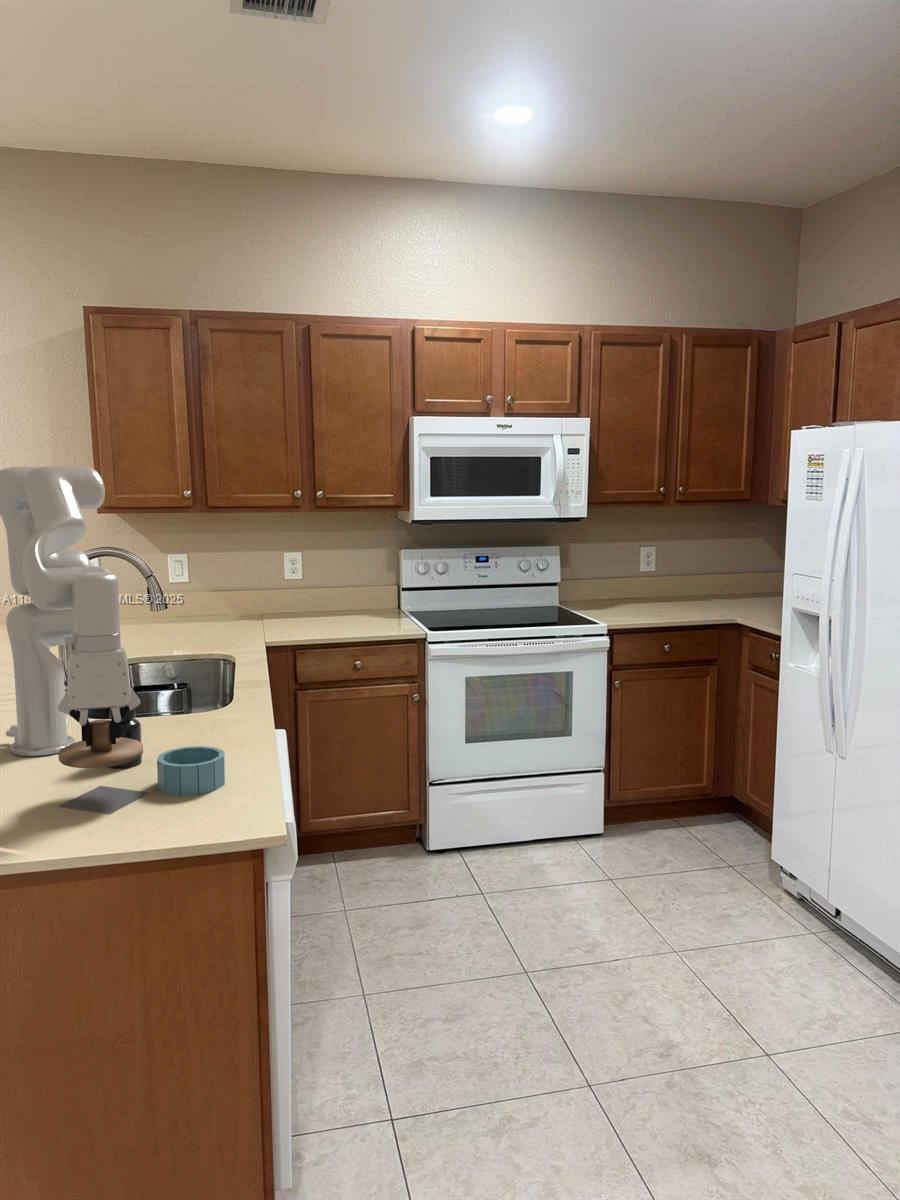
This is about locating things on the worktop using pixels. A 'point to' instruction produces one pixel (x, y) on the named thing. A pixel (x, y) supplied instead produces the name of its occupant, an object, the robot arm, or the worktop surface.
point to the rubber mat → (104, 799)
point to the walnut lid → (100, 749)
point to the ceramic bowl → (191, 770)
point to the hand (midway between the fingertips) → (101, 742)
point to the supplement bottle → (129, 735)
